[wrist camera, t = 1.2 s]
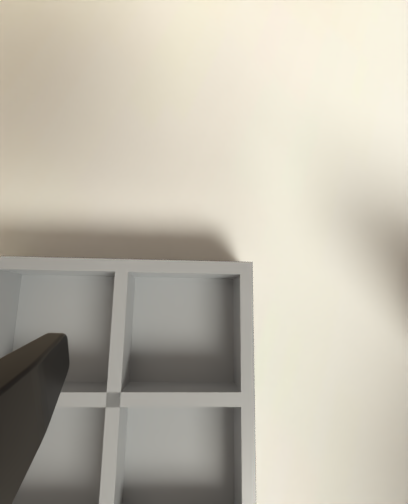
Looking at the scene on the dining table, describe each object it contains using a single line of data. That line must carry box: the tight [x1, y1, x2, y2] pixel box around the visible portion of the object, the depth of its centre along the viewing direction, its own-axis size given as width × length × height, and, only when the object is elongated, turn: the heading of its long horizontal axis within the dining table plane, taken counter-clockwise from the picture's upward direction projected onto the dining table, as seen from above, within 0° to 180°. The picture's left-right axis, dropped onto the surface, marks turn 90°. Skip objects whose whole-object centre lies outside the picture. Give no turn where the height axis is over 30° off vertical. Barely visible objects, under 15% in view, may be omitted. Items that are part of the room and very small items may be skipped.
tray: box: [0, 256, 256, 504], centre depth 19 cm, size 24×16×4 cm
